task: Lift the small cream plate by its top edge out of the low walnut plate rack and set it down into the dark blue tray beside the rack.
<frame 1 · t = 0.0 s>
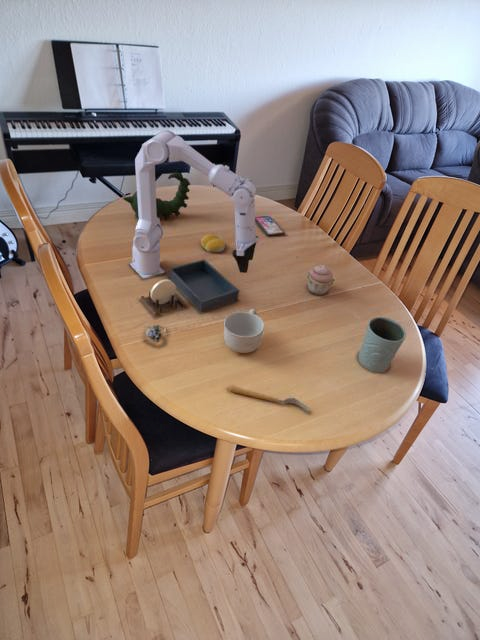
hand: (246, 265, 133), 11 cm above the table, tool pointing down, fingers open, 7 cm apart
plate rack: (163, 304, 130), on the table
teacup: (243, 342, 122), on the table
dark blue tray: (202, 289, 139), on the table
cupcake: (316, 290, 147), on the table
oyster shell: (156, 337, 119), on the table
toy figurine: (156, 217, 172), on the table
bread roll: (212, 247, 160), on the table
plate: (163, 302, 130), point 1 cm above the table, touching plate rack
smartphone: (268, 227, 178), on the table
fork: (268, 401, 107), on the table
green cylindrical pot: (372, 361, 123), on the table
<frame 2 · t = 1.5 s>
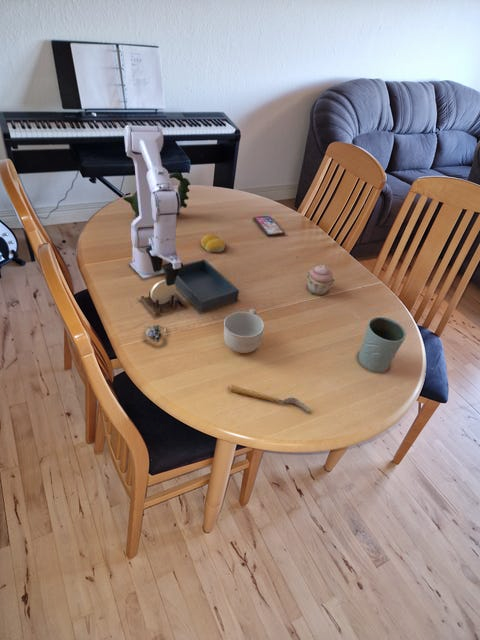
hand: (163, 277, 124), 10 cm above the table, tool pointing down, fingers open, 7 cm apart
nothing on the table moved.
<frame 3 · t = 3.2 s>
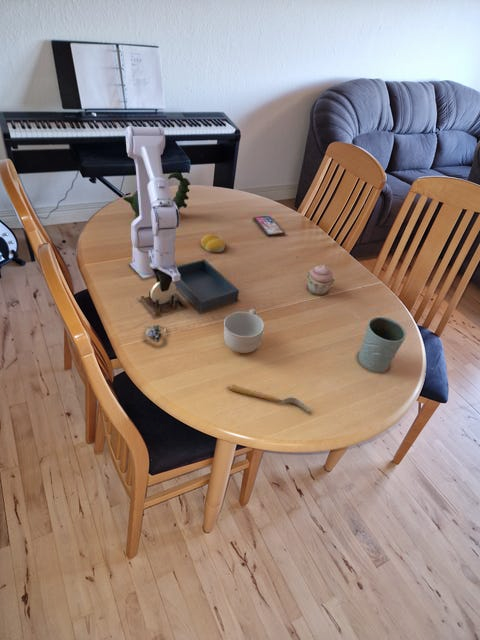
hand: (163, 288, 127), 6 cm above the table, tool pointing down, fingers closed on plate, 1 cm apart
plate: (163, 302, 130), point 1 cm above the table, touching gripper
everything else where it was.
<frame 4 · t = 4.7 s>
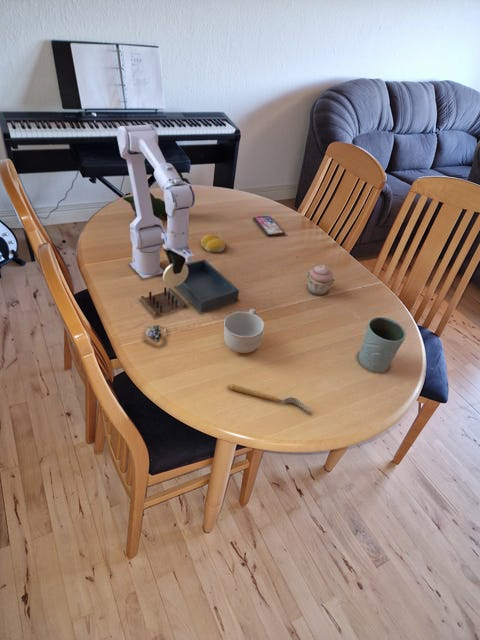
hand: (175, 271, 126), 10 cm above the table, tool pointing down, fingers closed on plate
plate: (175, 285, 129), point 5 cm above the table, touching gripper
everything else where it was.
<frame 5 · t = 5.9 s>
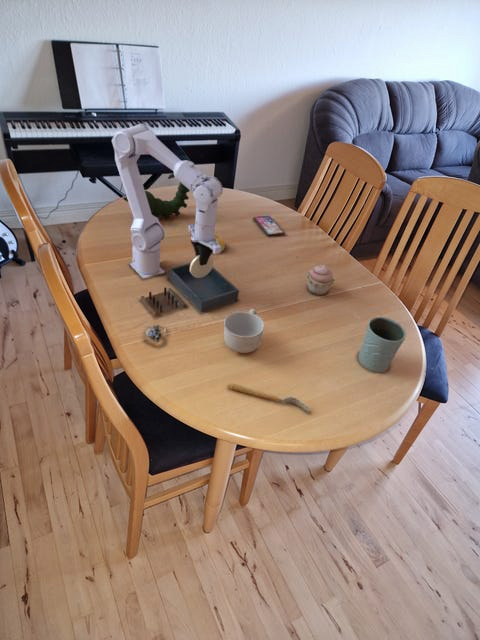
hand: (201, 263, 131), 10 cm above the table, tool pointing down, fingers closed on plate
plate: (200, 276, 135), point 5 cm above the table, touching gripper
everything else where it was.
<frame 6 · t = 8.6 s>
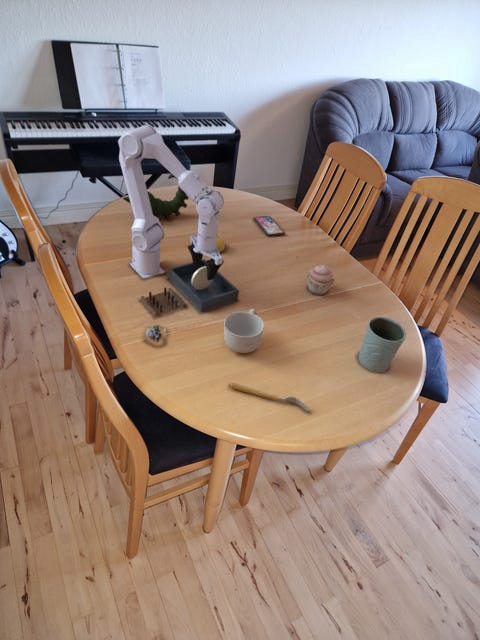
hand: (203, 272, 135), 6 cm above the table, tool pointing down, fingers open, 7 cm apart
plate: (202, 288, 138), point 1 cm above the table, touching dark blue tray
everything else where it was.
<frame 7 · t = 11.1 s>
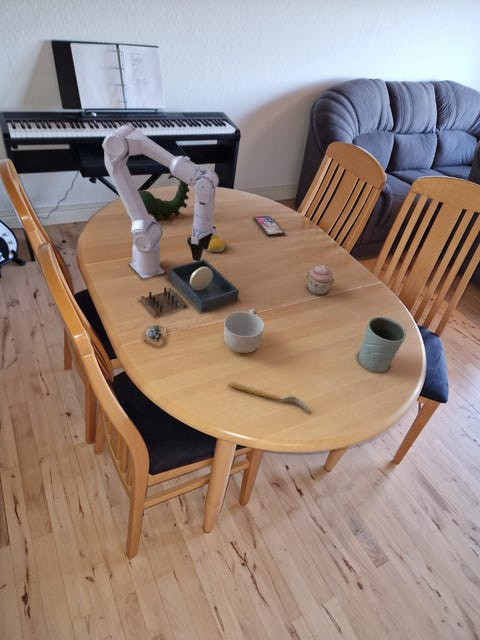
hand: (200, 254, 135), 10 cm above the table, tool pointing down, fingers open, 7 cm apart
plate: (202, 288, 138), point 1 cm above the table, tilted 10°, touching dark blue tray
everything else where it was.
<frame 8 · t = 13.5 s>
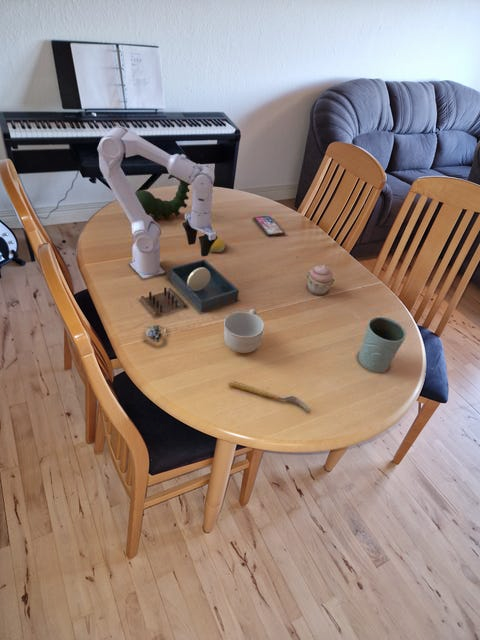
hand: (198, 249, 137), 10 cm above the table, tool pointing down, fingers open, 7 cm apart
plate: (202, 287, 138), point 1 cm above the table, tilted 24°, touching dark blue tray
everything else where it was.
at the end: plate inside the target area in the dark blue tray (0.0 cm from its centre), point 1.0 cm above the dark blue tray's base; the gripper is holding nothing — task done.
